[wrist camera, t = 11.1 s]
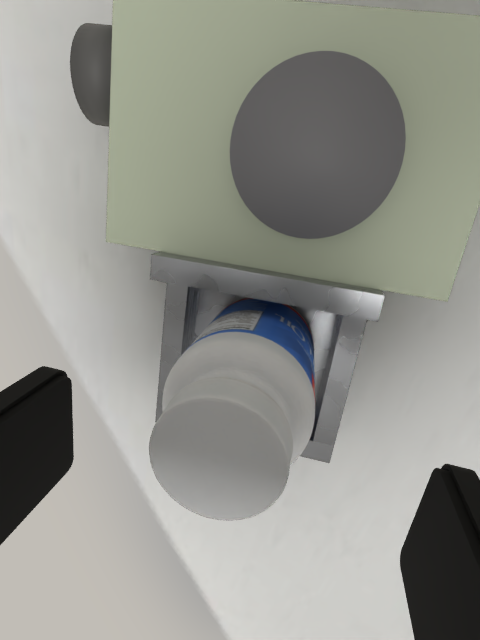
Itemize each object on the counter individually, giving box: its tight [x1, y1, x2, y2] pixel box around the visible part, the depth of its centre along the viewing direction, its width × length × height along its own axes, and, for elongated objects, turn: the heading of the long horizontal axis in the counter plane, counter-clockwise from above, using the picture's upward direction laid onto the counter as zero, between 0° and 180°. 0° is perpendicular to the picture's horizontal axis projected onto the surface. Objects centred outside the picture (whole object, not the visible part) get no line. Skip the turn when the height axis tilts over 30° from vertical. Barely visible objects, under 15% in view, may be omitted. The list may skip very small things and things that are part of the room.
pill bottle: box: [149, 298, 315, 520], centre depth 15 cm, size 6×5×10 cm
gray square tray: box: [150, 252, 385, 463], centre depth 18 cm, size 9×9×4 cm
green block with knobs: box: [70, 0, 480, 302], centre depth 15 cm, size 17×9×4 cm, turn 82°
